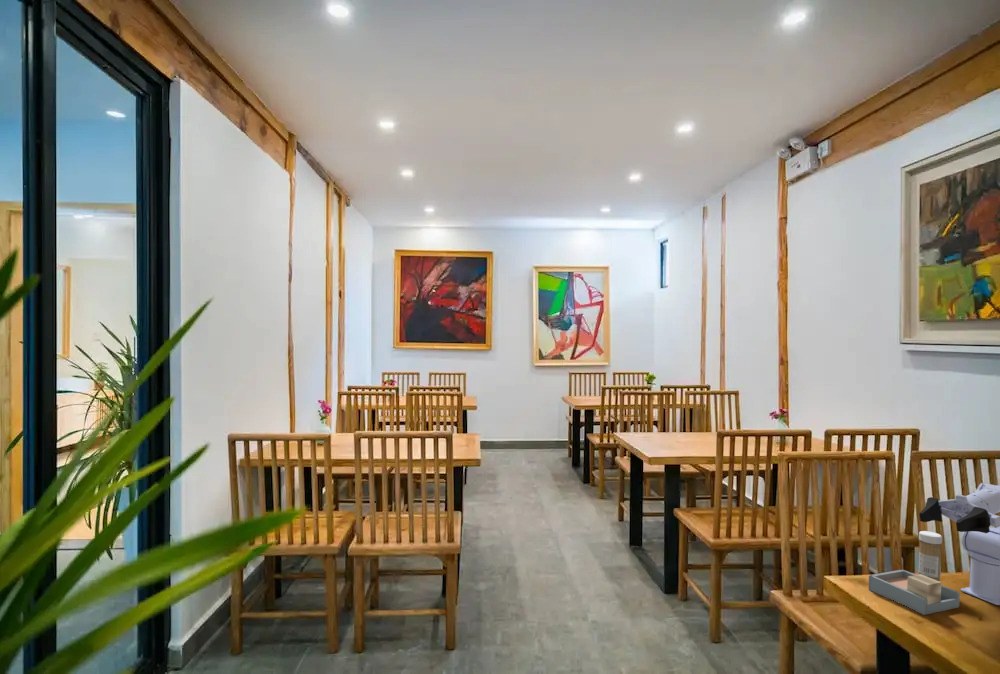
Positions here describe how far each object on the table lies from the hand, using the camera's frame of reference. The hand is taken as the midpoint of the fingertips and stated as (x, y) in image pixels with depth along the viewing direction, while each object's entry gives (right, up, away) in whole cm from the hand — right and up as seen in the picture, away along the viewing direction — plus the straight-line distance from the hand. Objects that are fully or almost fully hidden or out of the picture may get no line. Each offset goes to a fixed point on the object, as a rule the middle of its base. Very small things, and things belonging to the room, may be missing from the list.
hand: (939, 522), depth 128 cm
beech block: (-3, -18, +1) cm, 18 cm away
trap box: (-2, -20, +6) cm, 21 cm away
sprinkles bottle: (+7, -21, +12) cm, 25 cm away
